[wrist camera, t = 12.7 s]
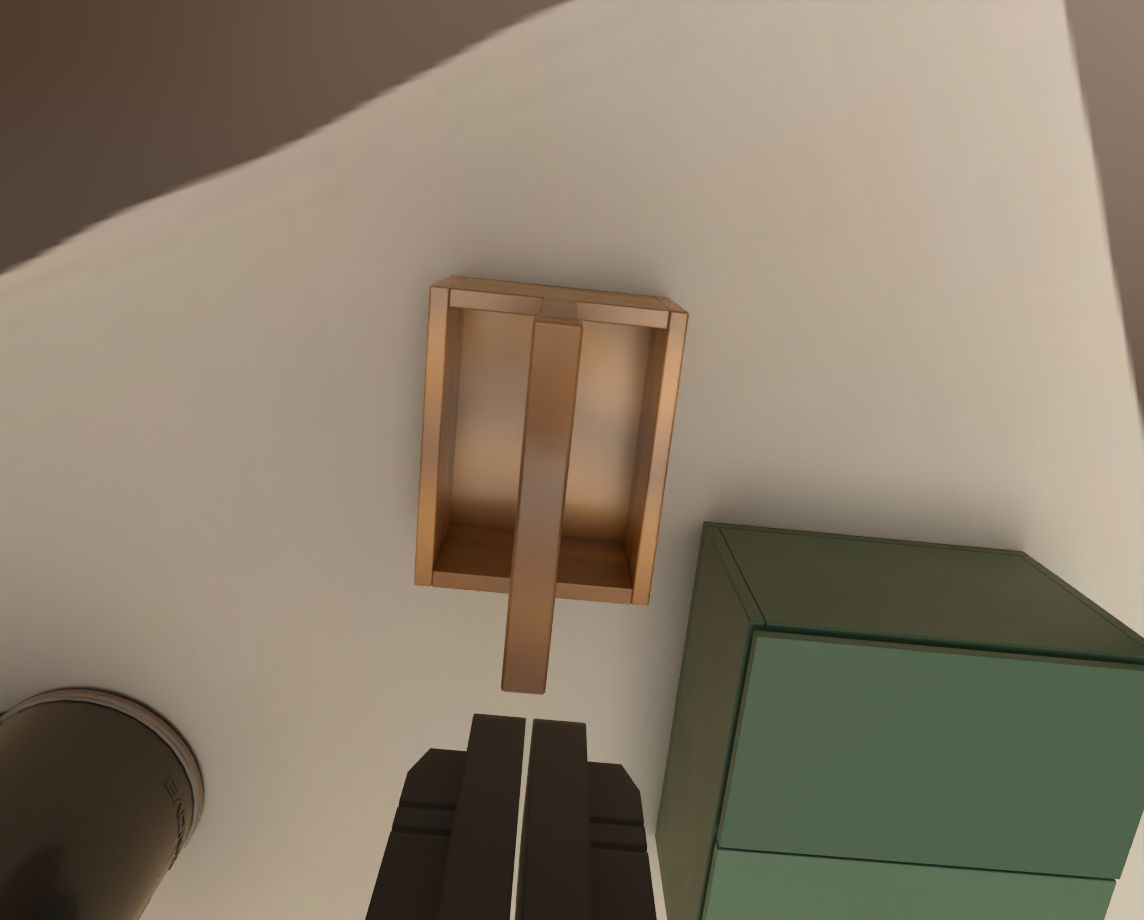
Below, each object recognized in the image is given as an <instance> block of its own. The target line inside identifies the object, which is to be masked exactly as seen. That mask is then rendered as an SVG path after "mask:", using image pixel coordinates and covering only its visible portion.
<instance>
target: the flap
mask: <svg viewBox="0 0 1144 920" xmlns="http://www.w3.org/2000/svg"><path fill="white" fill-rule="evenodd" d="M1115 885H1116V881H1115V880H1114V879H1111V878H1098V877H1086V876H1073V875H1061V874H1048V873H1036V872H1023V871H1011V870H999V869H986V868H974V867H961V866H949V865H936V864H924V863H911V862H899V861H886V860H874V859H862V858H849V857H837V856H824V855H812V854H799V853H787V852H774V851H762V850H749V849H737V848H725V847H719V845H718V842H715V847H714V853H713V859H712V864H711V870H710V876H709V881H708V887H707V893H706V899H705V904H704V910H703V916H702V920H1104V918H1105V915H1106V912H1107V909H1108V906H1109V903H1110V900H1111V897H1112V894H1113V891H1114V888H1115Z"/></svg>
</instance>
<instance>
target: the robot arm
mask: <svg viewBox="0 0 1144 920" xmlns="http://www.w3.org/2000/svg"><path fill="white" fill-rule="evenodd" d="M525 723H526V718H519V717H508V716H497V715H485V714H474V716H473V721H472V726H471V731H470V737H469V742H468V747H467V751H456V750H444V749H432V748H430V749H429V750H428V752H427V753H426V754H425V755H424V756H423V757H422V758H421V759H420V760H419V761H418V762H417V763H416V764H415V765H414V766H413V767H412V768H411V769H410V770H409V771H408V773H407V776H406V780H405V783H404V787H403V790H402V794H401V797H400V801H399V807H398V808H397V811H396V815H395V818H394V821H393V825H392V831H391V832H390V835H389V839H388V842H387V846H386V849H385V853H384V856H383V860H382V863H381V867H380V870H379V874H378V877H377V880H376V884H375V887H374V891H373V894H372V898H371V901H370V905H369V908H368V912H367V915H366V919H365V920H510V909H511V896H512V884H513V872H514V859H515V847H516V835H517V822H518V810H519V798H520V785H521V773H522V761H523V748H524V736H525ZM202 806H203V787H202V781H201V777H200V773H199V770H198V767H197V765H196V763H195V760H194V758H193V756H192V754H191V753H190V751H189V749H188V748H187V746H186V745H185V743H184V742H183V741H182V740H181V738H180V737H179V736H178V735H177V734H176V732H175V731H174V730H172V729H171V728H170V727H169V726H168V725H167V724H166V723H165V722H164V721H163V720H161V719H160V718H159V717H157V716H156V715H154V714H153V713H152V712H150V711H148V710H147V709H145V708H143V707H142V706H140V705H138V704H136V703H133V702H131V701H129V700H126V699H124V698H121V697H118V696H115V695H112V694H108V693H103V692H99V691H91V690H78V689H73V690H60V691H53V692H48V693H44V694H41V695H38V696H35V697H32V698H30V699H28V700H25V701H23V702H22V703H20V704H18V705H17V706H15V707H14V708H12V709H11V710H10V711H8V712H7V713H6V714H3V715H0V920H138V919H139V917H140V916H141V914H142V912H143V911H144V909H145V908H146V906H147V904H148V903H149V901H150V898H151V897H152V895H153V894H154V892H155V890H156V889H157V887H158V886H159V884H160V882H161V881H162V879H163V877H164V876H165V874H166V873H167V871H168V870H170V868H171V867H172V865H173V863H174V862H175V860H176V858H177V856H178V855H179V854H180V853H181V852H182V850H183V849H184V848H185V846H186V845H187V843H188V841H189V840H190V838H191V836H192V835H193V833H194V831H195V829H196V827H197V825H198V822H199V819H200V816H201V812H202ZM515 920H657V919H656V911H655V903H654V895H653V888H652V880H651V872H650V865H649V857H648V853H647V842H646V834H645V827H644V819H643V811H642V803H641V795H640V791H639V789H638V788H637V786H636V785H635V784H634V782H633V781H632V779H631V778H630V776H629V775H628V773H627V772H626V771H625V769H624V768H623V766H622V765H621V764H609V763H597V762H587V740H586V724H585V723H579V722H567V721H556V720H544V719H534V720H533V727H532V737H531V746H530V756H529V765H528V775H527V784H526V793H525V803H524V813H523V822H522V833H521V844H520V856H519V869H518V882H517V896H516V910H515Z"/></svg>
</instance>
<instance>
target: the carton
mask: <svg viewBox="0 0 1144 920" xmlns="http://www.w3.org/2000/svg"><path fill="white" fill-rule="evenodd" d="M1143 810H1144V638H1143V637H1141V636H1140V635H1139V634H1137V633H1136V632H1134V631H1133V630H1132V629H1130V628H1129V627H1127V626H1126V625H1125V624H1123V623H1122V622H1121V621H1119V620H1118V619H1116V618H1115V617H1114V616H1112V615H1111V614H1109V613H1108V612H1107V611H1105V610H1104V609H1102V608H1101V607H1100V606H1098V605H1097V604H1096V603H1094V602H1093V601H1091V600H1090V599H1089V598H1087V597H1086V596H1084V595H1083V594H1082V593H1080V592H1079V591H1077V590H1076V589H1075V588H1073V587H1072V586H1071V585H1069V584H1068V583H1066V582H1065V581H1064V580H1062V579H1061V578H1059V577H1058V576H1057V575H1055V574H1054V573H1052V572H1051V571H1050V570H1048V569H1047V568H1045V567H1044V566H1043V565H1041V564H1040V563H1039V562H1037V561H1036V560H1034V559H1033V558H1032V557H1030V556H1029V555H1027V554H1026V553H1025V552H1018V551H1007V550H996V549H986V548H975V547H964V546H954V545H943V544H932V543H922V542H911V541H900V540H890V539H879V538H868V537H858V536H847V535H836V534H826V533H815V532H804V531H794V530H783V529H773V528H762V527H751V526H741V525H730V524H719V523H709V522H704V526H703V532H702V539H701V545H700V551H699V558H698V564H697V571H696V577H695V584H694V590H693V597H692V603H691V610H690V616H689V623H688V629H687V635H686V642H685V648H684V655H683V661H682V668H681V674H680V681H679V687H678V694H677V700H676V706H675V713H674V719H673V726H672V732H671V739H670V745H669V752H668V758H667V765H666V771H665V778H664V784H663V790H662V797H661V803H660V810H659V816H658V823H657V829H656V836H655V838H656V844H657V852H658V859H659V866H660V872H661V879H662V886H663V893H664V900H665V907H666V914H667V920H702V916H703V910H704V904H705V899H706V893H707V887H708V881H709V876H710V870H711V864H712V859H713V853H714V847H715V842H718V845H719V847H725V848H737V849H749V850H762V851H774V852H787V853H799V854H812V855H824V856H837V857H849V858H862V859H874V860H886V861H899V862H911V863H924V864H936V865H949V866H961V867H974V868H986V869H999V870H1011V871H1023V872H1036V873H1048V874H1061V875H1073V876H1086V877H1098V878H1111V879H1120V877H1121V874H1122V871H1123V868H1124V865H1125V862H1126V859H1127V856H1128V854H1129V851H1130V848H1131V845H1132V842H1133V839H1134V836H1135V833H1136V830H1137V827H1138V825H1139V822H1140V819H1141V816H1142V813H1143Z"/></svg>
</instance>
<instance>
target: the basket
mask: <svg viewBox="0 0 1144 920" xmlns="http://www.w3.org/2000/svg"><path fill="white" fill-rule="evenodd" d="M688 316H689V314H688V312H687V311H685V310H684V309H683V308H681V307H680V306H679V305H677V304H676V303H675V302H673V301H672V300H671V299H669V298H663V297H654V296H644V295H634V294H625V293H615V292H605V291H596V290H586V289H576V288H567V287H557V286H547V285H537V284H528V283H518V282H508V281H499V280H489V279H479V278H470V277H460V276H451V277H449V278H447V279H445V280H443V281H440V282H438V283H436V284H434V285H432V286H430V297H429V316H428V334H427V353H426V372H425V390H424V409H423V428H422V446H421V465H420V484H419V502H418V521H417V540H416V558H415V577H414V584H415V585H421V586H433V587H442V588H454V589H465V590H476V591H487V592H498V593H509V601H508V612H507V624H506V635H505V646H504V658H503V669H502V680H501V689H502V691H505V692H517V693H528V694H540V695H542V694H544V693H545V689H546V679H547V670H548V660H549V651H550V641H551V632H552V622H553V612H554V603H555V598H565V599H576V600H587V601H598V602H609V603H620V604H634V605H645V606H647V605H648V603H649V596H650V589H651V582H652V575H653V568H654V560H655V553H656V546H657V539H658V532H659V524H660V517H661V510H662V503H663V496H664V489H665V481H666V474H667V467H668V460H669V453H670V445H671V438H672V431H673V424H674V417H675V409H676V402H677V395H678V388H679V381H680V374H681V366H682V359H683V352H684V345H685V338H686V330H687V323H688Z"/></svg>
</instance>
